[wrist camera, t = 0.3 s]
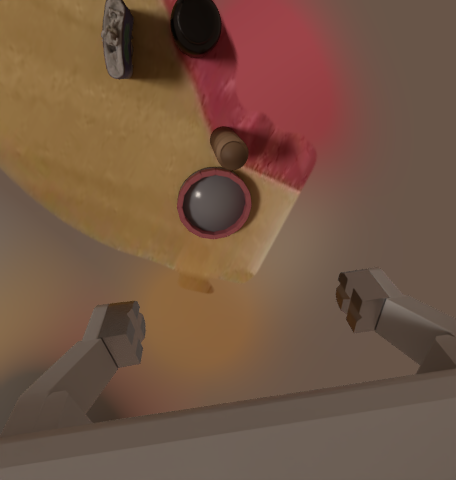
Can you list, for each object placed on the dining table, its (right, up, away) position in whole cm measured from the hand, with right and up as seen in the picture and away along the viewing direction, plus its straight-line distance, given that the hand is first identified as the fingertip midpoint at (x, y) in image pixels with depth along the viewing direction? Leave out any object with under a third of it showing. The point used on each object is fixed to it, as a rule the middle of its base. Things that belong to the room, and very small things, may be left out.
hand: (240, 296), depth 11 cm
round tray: (-4, +10, +48) cm, 49 cm away
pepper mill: (-1, +21, +42) cm, 47 cm away
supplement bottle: (-6, +35, +33) cm, 49 cm away
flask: (-17, +33, +33) cm, 49 cm away
